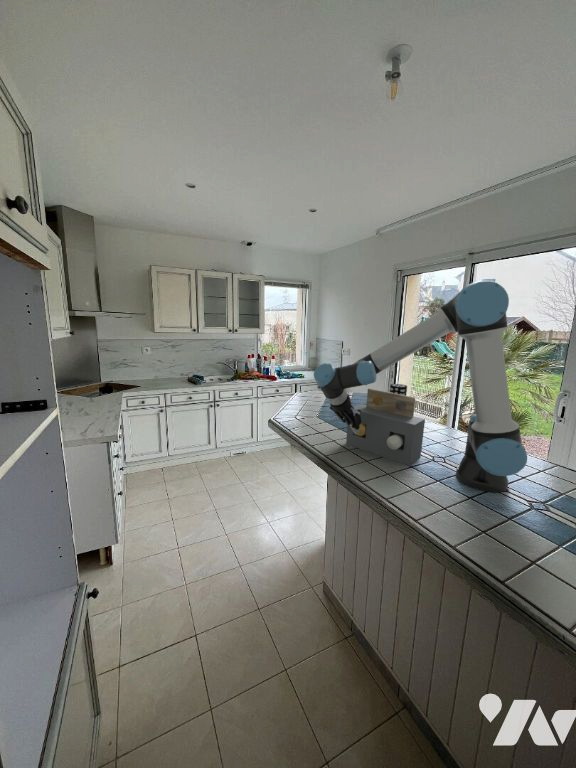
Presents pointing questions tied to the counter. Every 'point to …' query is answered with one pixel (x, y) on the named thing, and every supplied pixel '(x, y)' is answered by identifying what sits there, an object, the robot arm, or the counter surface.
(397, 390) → the black white block
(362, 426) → the button ochre
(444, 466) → the counter surface
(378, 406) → the placard
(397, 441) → the button ivory
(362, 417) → the console
